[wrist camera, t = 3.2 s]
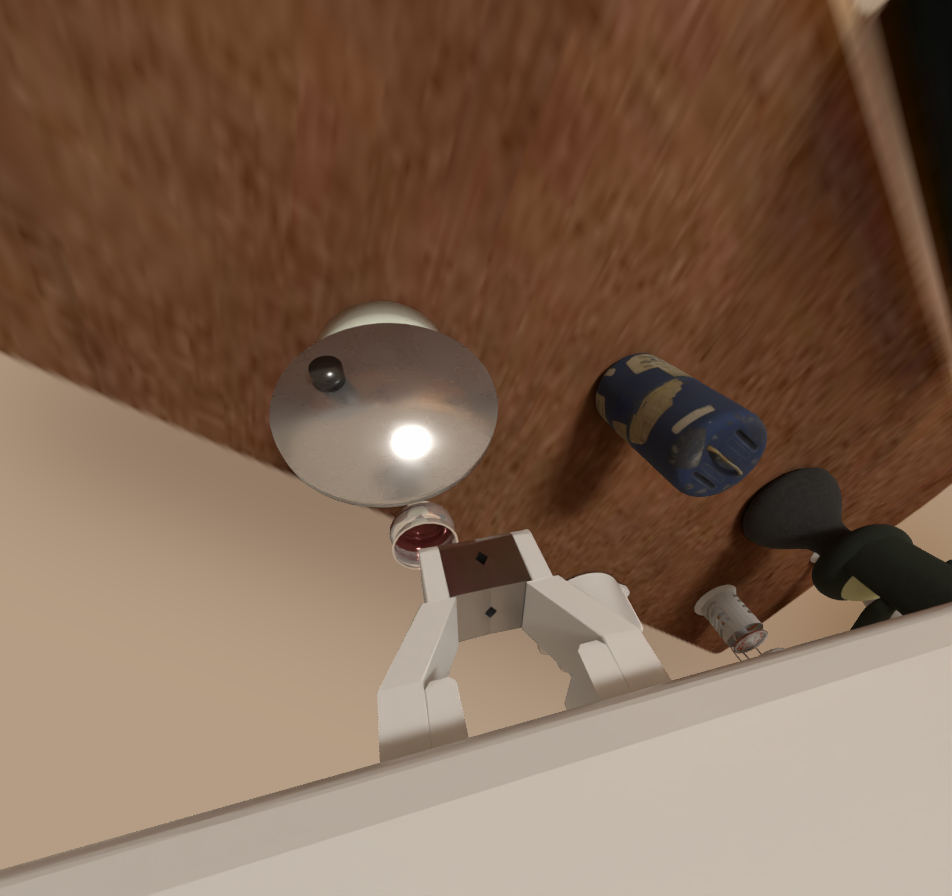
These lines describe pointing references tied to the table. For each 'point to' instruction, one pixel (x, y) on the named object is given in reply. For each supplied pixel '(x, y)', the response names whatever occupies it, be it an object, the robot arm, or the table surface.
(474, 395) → the lid
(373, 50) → the table surface
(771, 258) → the table surface
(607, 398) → the canister
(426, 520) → the wineglass
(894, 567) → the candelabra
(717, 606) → the french press
